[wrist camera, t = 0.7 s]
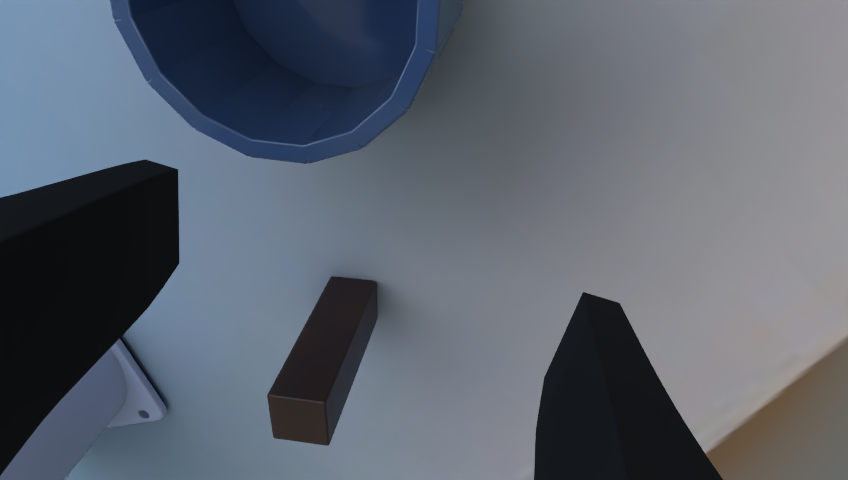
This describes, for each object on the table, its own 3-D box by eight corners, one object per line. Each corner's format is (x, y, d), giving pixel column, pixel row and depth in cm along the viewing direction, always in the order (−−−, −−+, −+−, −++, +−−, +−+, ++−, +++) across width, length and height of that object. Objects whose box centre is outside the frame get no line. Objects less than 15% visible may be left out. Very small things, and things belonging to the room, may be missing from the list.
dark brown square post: (333, 313, 25) (272, 439, 19) (330, 275, 24) (265, 395, 18) (377, 318, 25) (329, 446, 19) (376, 280, 24) (325, 403, 18)
